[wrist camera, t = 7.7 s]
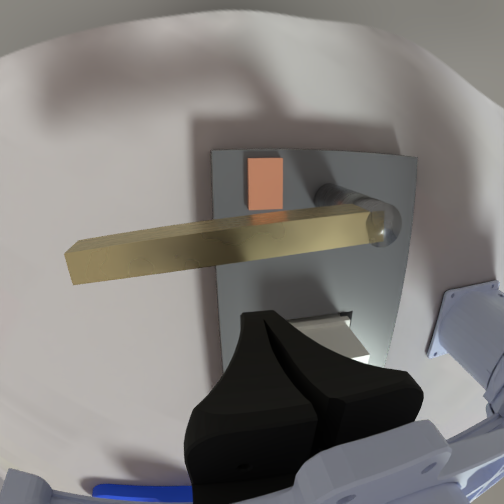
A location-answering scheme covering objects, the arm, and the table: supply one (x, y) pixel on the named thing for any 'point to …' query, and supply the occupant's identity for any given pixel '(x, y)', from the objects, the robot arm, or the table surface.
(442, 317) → the robot arm
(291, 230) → the brass flat bar
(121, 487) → the bracket
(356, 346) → the plug
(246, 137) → the table surface
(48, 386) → the table surface
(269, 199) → the grey panel
